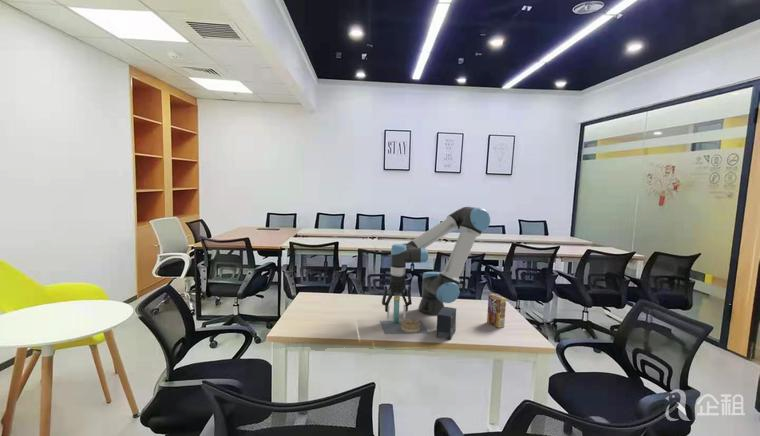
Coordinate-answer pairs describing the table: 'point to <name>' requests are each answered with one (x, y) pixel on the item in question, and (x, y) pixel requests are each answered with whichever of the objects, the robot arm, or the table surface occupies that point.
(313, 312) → the table surface
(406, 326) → the bead
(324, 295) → the table surface
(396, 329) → the mat
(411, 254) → the robot arm
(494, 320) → the candy box
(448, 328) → the small box
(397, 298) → the teal and tan cylinder
